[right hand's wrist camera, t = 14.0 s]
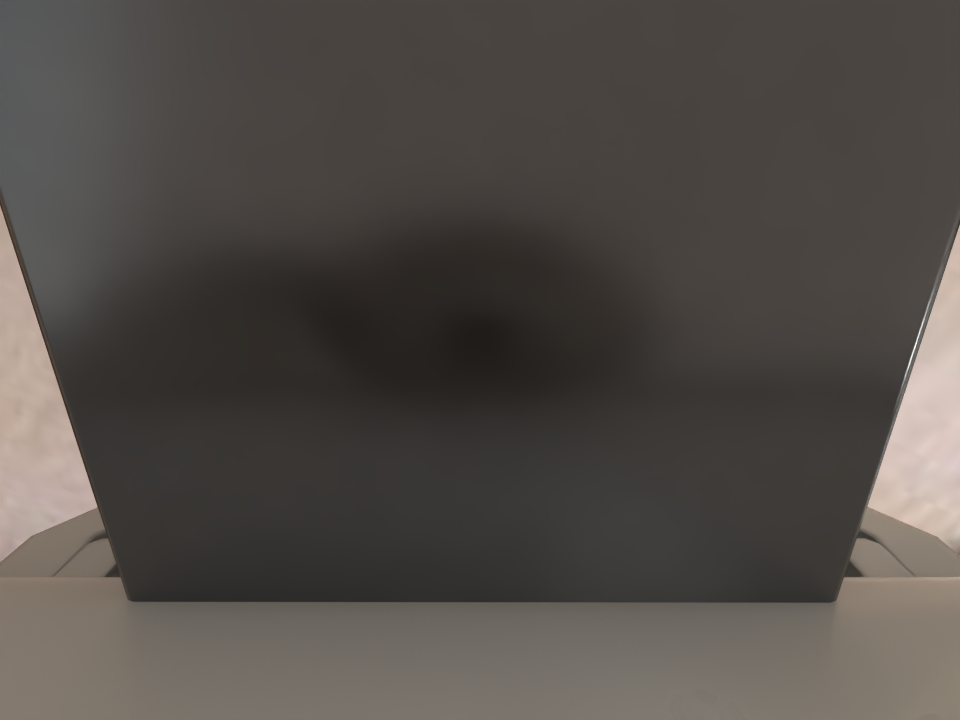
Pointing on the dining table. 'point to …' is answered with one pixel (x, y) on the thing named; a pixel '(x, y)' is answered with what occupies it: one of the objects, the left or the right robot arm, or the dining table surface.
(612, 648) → the right robot arm
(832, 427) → the box
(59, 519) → the dining table surface
